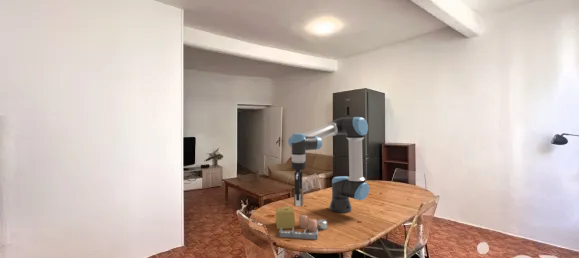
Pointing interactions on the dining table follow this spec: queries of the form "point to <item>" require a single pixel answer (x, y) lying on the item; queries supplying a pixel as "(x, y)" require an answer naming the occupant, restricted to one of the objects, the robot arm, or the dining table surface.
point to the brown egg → (303, 221)
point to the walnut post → (301, 197)
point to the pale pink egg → (312, 225)
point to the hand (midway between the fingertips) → (298, 204)
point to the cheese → (285, 218)
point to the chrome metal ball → (321, 224)
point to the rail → (298, 234)
